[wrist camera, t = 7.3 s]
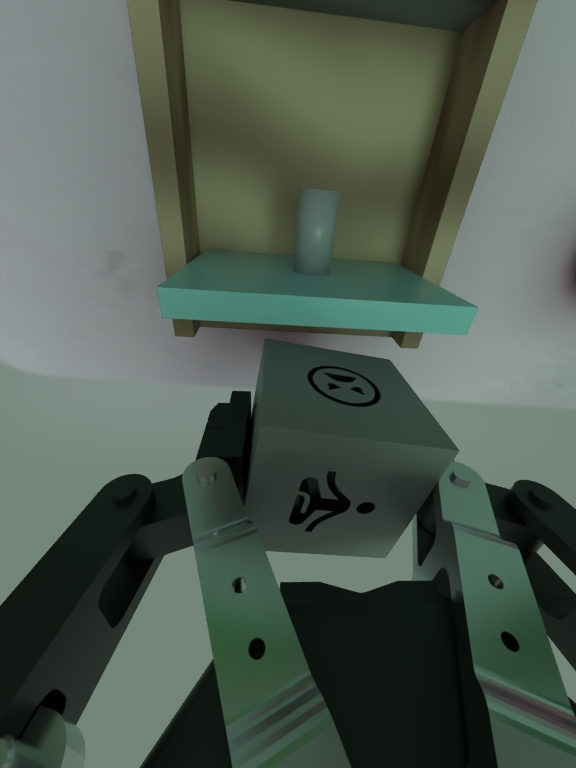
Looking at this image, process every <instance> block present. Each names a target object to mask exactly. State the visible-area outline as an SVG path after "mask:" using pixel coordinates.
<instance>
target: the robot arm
mask: <svg viewBox="0 0 576 768" xmlns="http://www.w3.org/2000/svg"><path fill="white" fill-rule="evenodd" d="M250 426H251V392H250V391H232V395H231V399H230V403H218V404H217V405H216V406H215V407H214V408H213V409H212V410H211V411H210V415H209V418H208V422H207V424H206V428H205V431H204V434H203V438H202V441H201V444H200V447H199V451H198V454H197V457H196V460H195V461H194V462H192V463H191V464H190V465H189V466H188V467H187V468H186V469H185V471H184V473H183V474H181V475H180V476H177V477H175V478H172V479H168V480H164V481H160V482H156V483H151V481H150V480H149V479H148V478H147V477H145V476H143V475H140V474H129V475H124V476H121V477H118V478H116V479H114V480H112V481H111V482H109V483H108V484H106V485H105V486H104V487H103V488H102V489H101V490H100V491H99V492H98V494H97V495H96V496H95V497H94V498H93V499H92V501H91V502H90V503H89V504H88V505H87V506H86V508H85V509H84V510H83V511H82V512H81V513H80V515H79V516H78V517H77V518H76V519H75V520H74V521H73V523H72V524H71V525H70V526H69V527H68V528H67V529H66V531H65V532H64V533H63V534H62V535H61V537H59V539H58V540H57V541H56V542H55V543H54V544H53V546H52V547H51V548H50V549H49V550H48V551H47V552H46V554H45V555H44V556H43V557H42V558H41V559H40V561H39V562H38V563H37V564H36V565H35V566H34V567H33V569H32V570H31V571H30V572H29V573H28V574H27V576H26V577H25V578H24V579H23V580H22V581H21V582H20V584H19V585H18V586H17V587H16V588H15V589H14V591H13V592H12V593H11V594H10V595H9V596H8V597H7V599H6V600H5V601H4V602H3V603H2V604H1V606H0V768H83V767H84V760H85V742H84V738H83V735H82V733H81V731H80V729H79V728H78V727H77V726H76V724H77V722H78V720H79V718H80V716H81V714H82V713H83V710H84V709H85V707H86V705H87V703H88V701H89V699H90V697H91V695H92V693H93V691H94V689H95V687H96V686H97V684H98V682H99V680H100V678H101V676H102V674H103V672H104V670H105V668H106V666H107V664H108V662H109V661H110V659H111V657H112V655H113V653H114V651H115V649H116V647H117V645H118V643H119V641H120V639H121V637H122V636H123V633H124V632H125V630H126V628H127V626H128V624H129V622H130V620H131V618H132V616H133V614H134V612H135V611H136V609H137V607H138V605H139V603H140V601H141V599H142V597H143V595H144V593H145V591H146V589H147V588H148V585H149V584H150V582H151V580H152V578H153V576H154V574H155V572H156V570H157V568H158V566H159V564H160V562H161V561H162V559H163V557H164V555H166V554H169V553H172V552H175V551H178V550H181V549H184V548H187V547H190V546H194V551H195V557H196V562H197V569H198V574H199V579H200V586H201V590H202V597H203V603H204V608H205V614H206V620H207V624H208V630H209V636H210V642H211V648H212V653H213V660H212V661H211V663H210V664H209V666H208V667H207V669H206V670H205V672H204V673H203V674H202V676H201V677H200V679H199V681H198V682H197V683H196V685H195V686H194V688H193V689H192V691H191V692H190V694H189V695H188V697H187V698H186V700H185V701H184V703H183V704H182V706H181V707H180V709H179V710H178V712H177V713H176V714H175V716H174V718H173V719H172V721H171V722H170V723H169V725H168V726H167V728H166V729H165V731H164V732H163V734H162V735H161V737H160V738H159V740H158V741H157V743H156V744H155V746H154V747H153V749H152V750H151V752H150V753H149V754H148V756H147V757H146V759H145V760H144V762H143V763H142V765H141V767H140V768H576V703H574V702H573V701H572V700H571V699H570V698H569V697H568V696H567V693H566V690H565V687H564V684H563V681H562V678H561V675H560V672H559V669H558V666H557V663H556V660H555V657H554V654H553V651H552V648H551V645H550V642H549V639H548V636H549V638H550V639H551V640H552V641H553V643H554V644H555V645H556V647H557V648H558V649H559V650H560V651H561V653H562V654H563V655H564V657H565V658H566V659H567V661H568V662H569V663H570V664H571V666H572V667H573V668H574V669H575V671H576V594H575V593H574V592H573V591H572V590H571V589H570V587H569V586H568V585H567V584H566V583H565V582H564V581H563V580H562V579H561V578H560V577H559V576H558V575H557V574H556V573H555V572H554V571H553V569H552V568H551V567H550V566H549V565H548V564H547V563H546V562H545V561H544V560H543V559H542V558H541V557H540V556H539V555H538V554H537V551H538V550H539V549H540V547H541V546H542V545H543V544H545V545H546V546H547V547H548V548H549V549H550V550H551V551H552V552H553V553H554V554H555V555H556V556H557V557H558V558H559V559H560V560H561V561H562V562H563V563H564V564H565V565H566V566H567V567H568V568H569V569H570V570H571V571H572V572H573V573H574V574H575V575H576V509H574V507H572V506H571V505H570V504H569V503H567V502H566V501H565V500H564V499H563V498H562V497H560V496H559V495H558V494H557V493H555V492H554V491H552V490H551V489H549V488H548V487H545V486H544V485H542V484H539V483H537V482H533V481H530V480H519V481H517V482H515V483H514V485H513V486H512V488H511V489H507V488H503V487H499V486H495V485H491V484H488V483H485V482H484V481H483V479H482V477H481V476H480V475H479V474H478V473H477V472H476V471H474V470H473V469H471V468H470V467H468V466H466V465H464V464H462V463H459V462H455V461H454V460H453V461H452V462H451V464H450V465H449V467H448V468H447V470H446V471H445V473H444V474H443V475H442V477H441V478H440V480H438V482H437V484H436V486H435V487H434V488H433V490H432V491H431V493H430V494H429V496H428V497H427V499H426V500H425V501H424V503H423V504H422V506H421V507H420V509H419V510H418V512H417V513H416V514H415V516H414V517H413V521H412V533H413V575H412V580H411V581H396V582H394V583H390V584H388V585H385V586H382V587H379V588H376V589H373V590H371V591H368V592H365V593H358V592H354V591H350V590H347V589H343V588H339V587H336V586H332V585H329V584H325V583H322V582H281V583H280V589H279V587H278V584H277V582H276V579H275V576H274V573H273V571H272V568H271V565H270V563H269V560H268V557H267V555H266V552H265V549H264V547H263V544H262V541H261V539H260V536H259V533H258V531H257V528H256V526H255V524H254V522H253V521H249V519H248V517H247V515H246V512H245V509H244V506H243V497H244V486H245V476H246V466H247V456H248V446H249V436H250Z"/></svg>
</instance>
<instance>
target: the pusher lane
mask: <svg viewBox="0 0 576 768" xmlns="http://www.w3.org/2000/svg"><path fill="white" fill-rule="evenodd" d="M537 1H538V0H127V6H128V13H129V20H130V27H131V34H132V41H133V48H134V54H135V61H136V68H137V75H138V82H139V89H140V96H141V103H142V110H143V117H144V124H145V131H146V138H147V144H148V151H149V158H150V165H151V172H152V179H153V186H154V193H155V200H156V207H157V214H158V221H159V228H160V235H161V241H162V248H163V255H164V262H165V269H166V276H167V279H168V278H170V277H171V276H172V275H174V274H175V273H176V272H178V271H179V270H180V269H182V268H183V267H184V266H186V265H187V264H188V263H189V262H191V261H192V260H193V259H195V258H196V257H197V256H199V255H200V254H201V253H203V252H204V251H205V250H207V249H209V250H222V251H236V252H250V253H263V254H277V255H291V256H294V252H295V239H296V226H297V214H298V201H299V188H305V189H319V190H330V191H338V192H341V194H340V201H339V208H338V215H337V222H336V229H335V236H334V243H333V250H332V257H331V258H332V259H345V260H359V261H373V262H386V263H396V264H398V265H400V266H402V267H404V268H405V269H407V270H409V271H411V272H413V273H415V274H417V275H419V276H420V277H422V278H424V279H426V280H428V281H430V282H432V283H434V284H435V285H437V286H439V285H440V282H441V279H442V277H443V274H444V271H445V268H446V265H447V262H448V259H449V256H450V253H451V250H452V248H453V245H454V242H455V239H456V236H457V233H458V230H459V227H460V224H461V221H462V218H463V216H464V213H465V210H466V207H467V204H468V201H469V198H470V195H471V192H472V189H473V186H474V184H475V181H476V178H477V175H478V172H479V169H480V166H481V163H482V160H483V157H484V155H485V152H486V149H487V146H488V143H489V140H490V137H491V134H492V131H493V128H494V125H495V123H496V120H497V117H498V114H499V111H500V108H501V105H502V102H503V99H504V96H505V94H506V91H507V88H508V85H509V82H510V79H511V76H512V73H513V70H514V67H515V64H516V62H517V59H518V56H519V53H520V50H521V47H522V44H523V41H524V38H525V35H526V33H527V30H528V27H529V24H530V21H531V18H532V15H533V12H534V9H535V6H536V3H537ZM173 325H174V331H175V336H184V337H194V336H195V335H196V333H197V331H198V330H199V328H200V327H215V328H234V329H252V330H271V331H289V332H308V333H327V334H345V335H364V336H382V337H392V338H393V339H394V340H395V341H396V343H397V344H398V345H399V346H400V347H401V348H418V346H419V343H420V340H421V338H422V335H423V332H405V331H387V330H369V329H351V328H333V327H315V326H297V325H279V324H261V323H243V322H225V321H207V320H189V319H173Z"/></svg>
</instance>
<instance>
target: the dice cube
mask: <svg viewBox="0 0 576 768" xmlns="http://www.w3.org/2000/svg"><path fill="white" fill-rule="evenodd" d="M458 452H459V450H458V448H457V447H456V446H455V444H454V443H453V442H452V440H451V439H450V438H449V437H448V435H447V434H446V433H445V431H444V430H443V429H442V428H441V426H440V425H439V423H438V422H437V421H436V420H435V418H434V417H433V416H432V414H431V413H430V412H429V410H428V409H427V408H426V406H425V405H424V404H423V403H422V401H421V400H420V399H419V397H418V396H417V395H416V393H415V392H414V391H413V389H412V388H411V387H410V386H409V384H408V383H407V382H406V380H405V379H404V378H403V376H402V375H401V374H400V373H399V371H398V370H397V369H396V367H395V366H394V365H393V363H392V362H391V361H390V360H388V359H382V358H376V357H370V356H364V355H358V354H352V353H347V352H341V351H335V350H329V349H323V348H317V347H311V346H305V345H299V344H293V343H288V342H282V341H276V340H270V339H265V340H264V345H263V351H262V357H261V363H260V368H259V374H258V380H257V385H256V391H255V397H254V403H253V408H252V414H251V426H250V436H249V446H248V456H247V466H246V476H245V486H244V497H243V506H244V509H245V512H246V515H247V517H248V519H249V521H253V522H254V524H255V526H256V528H257V531H258V533H259V536H260V539H261V541H262V544H263V547H264V549H265V551H278V552H293V553H309V554H326V555H342V556H358V557H375V558H386V556H387V555H388V553H389V552H390V551H391V549H392V548H393V546H394V545H395V543H396V542H397V541H398V539H399V538H400V536H401V535H402V533H403V532H404V530H405V529H406V528H407V526H408V524H409V523H410V522H411V520H412V519H413V517H414V516H415V514H416V513H417V512H418V510H419V509H420V507H421V506H422V504H423V503H424V501H425V500H426V499H427V497H428V496H429V494H430V493H431V491H432V490H433V488H434V487H435V486H436V484H437V482H438V480H440V478H441V477H442V475H443V474H444V473H445V471H446V470H447V468H448V467H449V465H450V464H451V462H452V461H453V460H454V458H455V457H456V455H457V454H458Z"/></svg>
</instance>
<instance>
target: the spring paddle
mask: <svg viewBox="0 0 576 768" xmlns="http://www.w3.org/2000/svg"><path fill="white" fill-rule="evenodd" d="M340 194H341V192H338V191H330V190H319V189H305V188H299V201H298V214H297V226H296V239H295V252H294V256H291V255H277V254H263V253H250V252H236V251H222V250H209V249H207V250H205V251H204V252H203V253H201V254H200V255H199V256H197V257H196V258H195V259H193V260H192V261H191V262H189V263H188V264H187V265H186V266H184V267H183V268H182V269H180V270H179V271H178V272H176V273H175V274H174V275H172V276H171V277H170V278H168V279H167V280H166V281H164V282H163V283H162V284H160V285H159V286H158V287H157V291H158V297H159V303H160V309H161V315H162V318H171V319H189V320H207V321H225V322H243V323H261V324H279V325H297V326H315V327H333V328H351V329H369V330H387V331H405V332H423V333H441V334H459V335H467V333H468V330H469V328H470V326H471V323H472V321H473V319H474V316H475V314H476V312H477V309H478V307H477V306H475V305H473V304H471V303H469V302H467V301H465V300H463V299H462V298H460V297H458V296H456V295H454V294H452V293H450V292H448V291H447V290H445V289H443V288H441V287H439V286H437V285H435V284H434V283H432V282H430V281H428V280H426V279H424V278H422V277H420V276H419V275H417V274H415V273H413V272H411V271H409V270H407V269H405V268H404V267H402V266H400V265H398V264H396V263H386V262H373V261H359V260H345V259H332V258H331V257H332V250H333V243H334V236H335V229H336V222H337V215H338V208H339V201H340Z"/></svg>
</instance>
